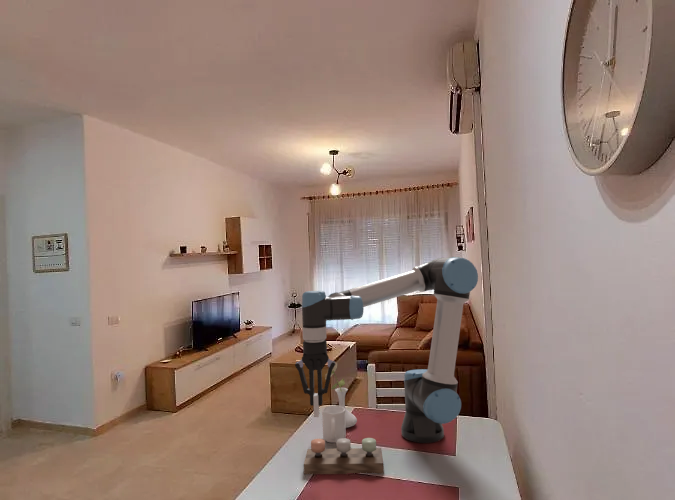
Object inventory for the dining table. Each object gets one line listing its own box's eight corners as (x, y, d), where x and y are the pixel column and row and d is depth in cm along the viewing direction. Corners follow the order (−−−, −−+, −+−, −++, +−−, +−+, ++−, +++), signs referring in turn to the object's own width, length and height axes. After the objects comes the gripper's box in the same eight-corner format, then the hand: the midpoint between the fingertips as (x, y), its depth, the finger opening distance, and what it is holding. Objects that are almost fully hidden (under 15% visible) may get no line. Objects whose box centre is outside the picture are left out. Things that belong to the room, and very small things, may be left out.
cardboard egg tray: (381, 457, 132) (381, 447, 132) (383, 473, 122) (383, 463, 122) (307, 458, 133) (307, 449, 133) (304, 474, 123) (303, 464, 123)
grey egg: (350, 451, 129) (350, 438, 129) (350, 458, 125) (350, 444, 125) (337, 451, 129) (336, 438, 130) (336, 458, 125) (336, 444, 125)
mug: (345, 448, 139) (344, 417, 139) (321, 448, 139) (320, 418, 140) (346, 433, 151) (345, 405, 151) (324, 433, 151) (323, 405, 152)
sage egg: (376, 451, 129) (375, 437, 129) (376, 457, 125) (376, 443, 125) (362, 451, 129) (361, 437, 129) (362, 457, 125) (362, 444, 125)
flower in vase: (343, 417, 167) (341, 356, 167) (363, 424, 158) (361, 360, 159) (318, 426, 158) (316, 361, 159) (338, 435, 150) (336, 366, 150)
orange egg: (325, 451, 130) (325, 438, 130) (324, 458, 125) (324, 444, 125) (312, 452, 130) (311, 438, 130) (310, 458, 125) (310, 444, 126)
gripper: (335, 337, 132) (337, 410, 131) (296, 338, 133) (297, 411, 132) (334, 342, 125) (336, 419, 124) (292, 342, 125) (294, 420, 124)
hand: (316, 415), depth 128 cm, fingers closed
